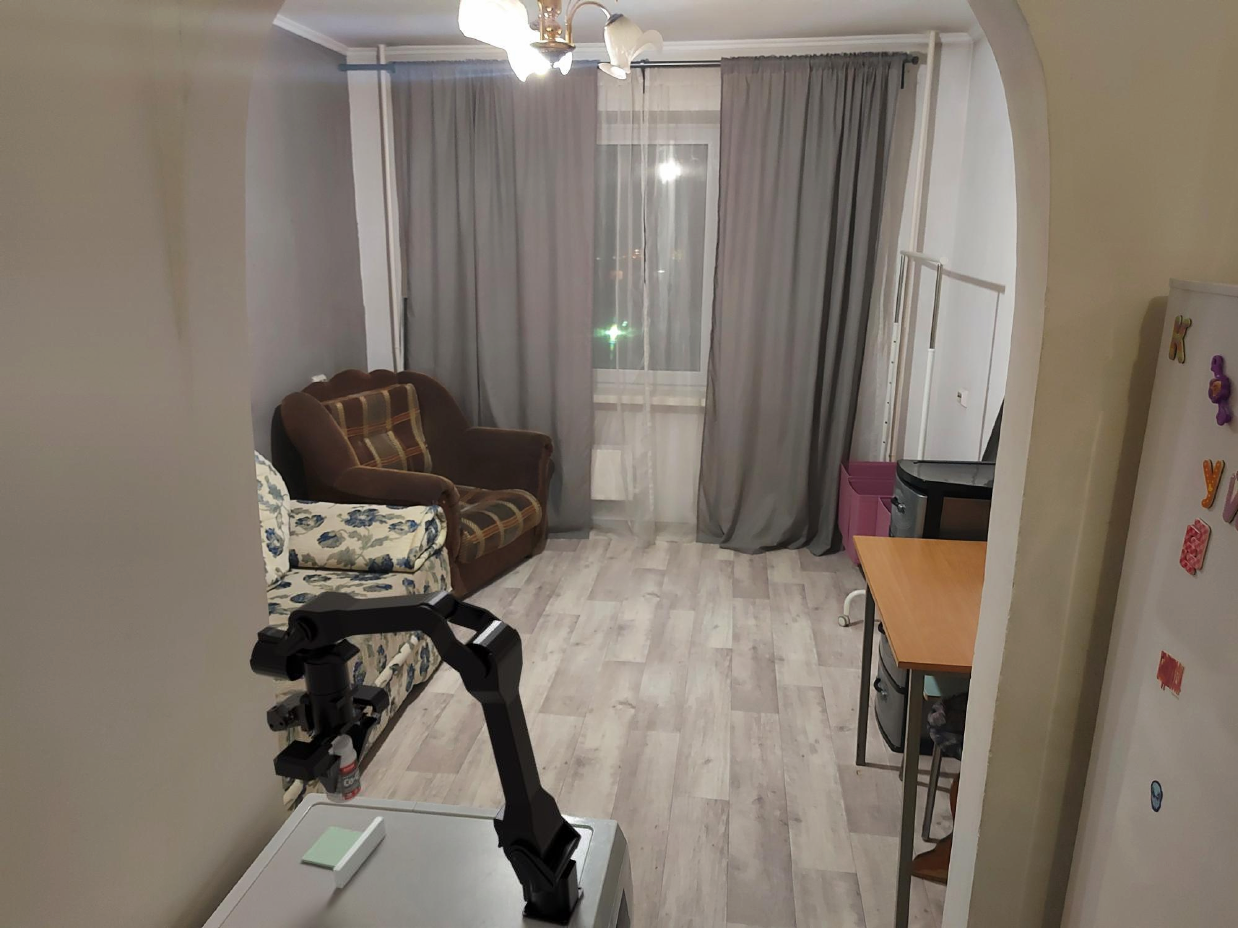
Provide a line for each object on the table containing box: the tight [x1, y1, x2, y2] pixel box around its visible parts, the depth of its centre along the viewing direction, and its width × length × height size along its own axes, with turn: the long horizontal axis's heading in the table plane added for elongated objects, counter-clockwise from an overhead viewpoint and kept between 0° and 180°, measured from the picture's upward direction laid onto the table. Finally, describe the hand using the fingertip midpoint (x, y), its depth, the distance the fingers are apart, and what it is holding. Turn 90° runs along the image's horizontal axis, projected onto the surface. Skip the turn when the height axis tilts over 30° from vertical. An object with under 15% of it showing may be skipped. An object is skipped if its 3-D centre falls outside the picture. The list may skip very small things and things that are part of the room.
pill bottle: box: [325, 734, 362, 804], centre depth 120 cm, size 5×5×8 cm
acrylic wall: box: [332, 816, 387, 889], centre depth 123 cm, size 1×11×3 cm, turn 162°
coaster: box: [300, 825, 364, 869], centre depth 126 cm, size 7×7×1 cm
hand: (342, 780), depth 120 cm, fingers closed on pill bottle, 5 cm apart
